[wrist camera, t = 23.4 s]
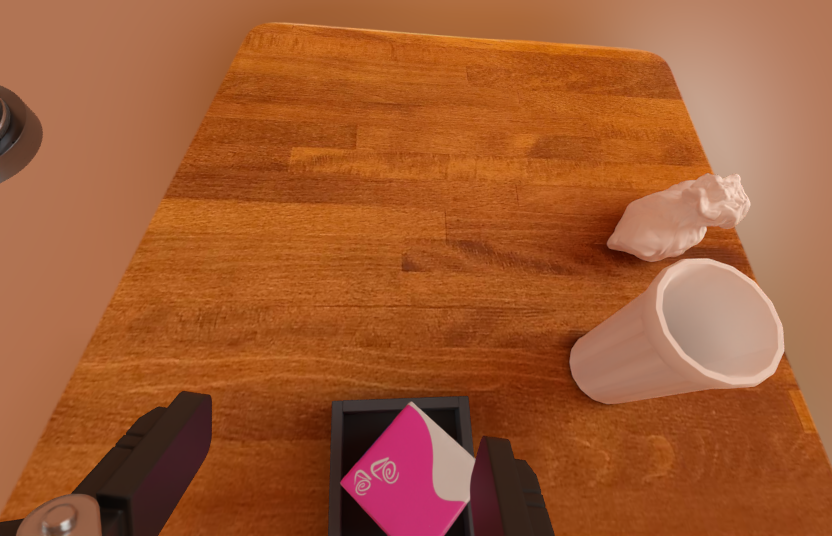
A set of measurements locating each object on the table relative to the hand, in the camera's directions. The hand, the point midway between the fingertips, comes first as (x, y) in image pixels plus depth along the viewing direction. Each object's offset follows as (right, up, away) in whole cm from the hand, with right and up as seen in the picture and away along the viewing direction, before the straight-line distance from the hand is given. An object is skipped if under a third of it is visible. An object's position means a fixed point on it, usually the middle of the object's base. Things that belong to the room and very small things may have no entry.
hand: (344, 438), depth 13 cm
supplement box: (+1, -11, +20) cm, 23 cm away
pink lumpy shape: (+26, +8, +32) cm, 42 cm away
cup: (+18, -4, +26) cm, 32 cm away
